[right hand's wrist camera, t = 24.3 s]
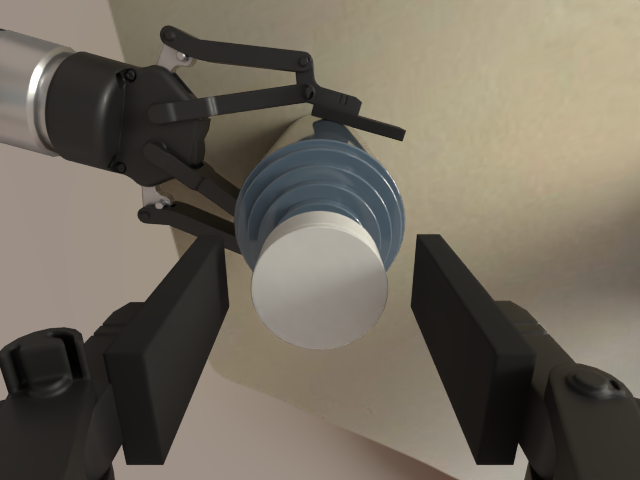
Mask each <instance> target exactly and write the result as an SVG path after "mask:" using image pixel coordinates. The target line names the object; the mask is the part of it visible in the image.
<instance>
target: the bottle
mask: <svg viewBox="0 0 640 480" xmlns="http://www.w3.org/2000/svg"><path fill="white" fill-rule="evenodd" d="M311 211H327V212H333V213H338V214H341V215H343V216H346V217H348V218H350V219H352V220H354V221H355V222H357V223H358V224H360V225H361V226H362V227H363V228H364V229H365V230H366V231H367V232H368V233H369V235H370V236H371V237H372V239H373V241H374V242H375V244H376V246H377V249H378V251H379V254H380V257H381V260H382V262H383V265H384V268H385V271H386V272H387V270H388V269H389V267H390V266H391V264H392V263H393V261H394V260H395V258H396V256H397V254H398V252H399V250H400V247H401V244H402V241H403V236H404V230H405V212H404V205H403V201H402V197H401V194H400V192H399V189H398V187H397V185H396V183H395V181H394V180H393V178H392V177H391V175H390V174H389V173H388V171H387V170H386V169H385V167H384V166H383V165H382V164H381V162H380V161H379V160H378V159H377V158H376V156H375V155H374V154H373V153H372V152H371V150H370V149H369V148H368V147H367V145H366V144H365V143H364V142H363V141H362V139H361V138H360V137H359V136H358V135H357V133H356V132H355V131H354V130H353V128H352V127H350V126H346V125H343V124H339V123H336V122H332V121H329V120H325V119H321V118H318V117H314V116H311V114H310V115H307V116H304V117H302V118H300V119H298V120H296V121H295V122H293V123H292V124H291V125H290V126H289V127H288V128H287V129H286V130H285V132H284V133H283V134H282V135H281V136H280V138H279V139H278V140H277V141H276V142H275V144H274V145H273V146H272V147H271V148H270V150H269V151H268V152H267V153H266V154H265V156H264V157H263V158H262V159H261V160H260V162H259V163H258V164H257V165H256V166H255V168H254V169H253V170H252V171H251V173H250V174H249V176H248V177H247V179H246V180H245V182H244V184H243V186H242V188H241V190H240V192H239V195H238V198H237V201H236V207H235V213H234V226H235V235H236V239H237V243H238V246H239V248H240V251H241V254H242V255H243V257H244V259H245V261H246V263H247V264H248V266H249V267H250V269H251V270H252V271H254V268H255V265H256V263H257V260H258V257H259V254H260V252H261V249H262V246H263V244H264V242H265V240H266V239H267V237H268V236H269V235H270V233H271V232H272V231H273V230H274V229H275V228H276V227H277V226H278V225H280V224H281V223H282V222H284V221H285V220H287V219H289V218H291V217H293V216H295V215H298V214H302V213H305V212H311Z"/></svg>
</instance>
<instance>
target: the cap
mask: <svg viewBox="0 0 640 480" xmlns="http://www.w3.org/2000/svg"><path fill="white" fill-rule="evenodd" d="M387 295H388V280H387V275H386V271H385V268H384V265H383V262H382V260H381V257H380V254H379V251H378V249H377V246H376V244H375V242H374V241H373V239H372V237H371V236H370V235H369V233H368V232H367V231H366V230H365V229H364V228H363V227H362V226H361V225H360V224H358V223H357V222H355V221H354V220H352V219H350V218H348V217H346V216H343V215H341V214H338V213H333V212H327V211H311V212H305V213H302V214H298V215H295V216H293V217H291V218H289V219H287V220H285V221H284V222H282V223H281V224H280V225H278V226H277V227H276V228H275V229H274V230H273V231H272V232H271V233H270V235H269V236H268V237H267V239H266V240H265V242H264V244H263V246H262V249H261V252H260V254H259V257H258V260H257V263H256V265H255V268H254V271H253V274H252V280H251V296H252V301H253V305H254V307H255V310H256V312H257V314H258V316H259V318H260V319H261V321H262V322H263V323H264V325H265V326H266V327H267V328H268V329H269V330H270V331H271V332H272V333H273V334H275V335H276V336H277V337H279V338H280V339H282V340H284V341H286V342H288V343H290V344H292V345H295V346H298V347H302V348H307V349H317V350H320V349H332V348H337V347H341V346H344V345H346V344H349V343H351V342H353V341H355V340H357V339H359V338H360V337H362V336H363V335H364V334H366V333H367V332H368V331H369V330H370V329H371V328H372V327H373V326H374V325H375V323H376V322H377V321H378V319H379V318H380V316H381V314H382V312H383V310H384V307H385V304H386V301H387Z"/></svg>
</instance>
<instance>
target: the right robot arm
mask: <svg viewBox="0 0 640 480" xmlns="http://www.w3.org/2000/svg"><path fill="white" fill-rule="evenodd" d="M228 308H229V298H228V286H227V275H226V263H225V252H224V240H223V234H200V235H199V237H198V238H197V239H196V240H195V241H194V243H193V244H192V245H191V246H190V248H189V249H188V250H187V251H186V252H185V254H184V255H183V256H182V257H181V258H180V260H179V261H178V262H177V263H176V265H175V266H174V267H173V268H172V269H171V271H170V272H169V273H168V274H167V276H166V277H165V278H164V279H163V280H162V282H161V283H160V284H159V285H158V286H157V288H156V289H155V290H154V291H153V293H152V294H151V295H150V296H149V297H148V299H147V300H146V301H145V302H130V303H128V304H126V305H125V306H123V307H121V308H120V309H118V310H116V311H114V312H113V313H112V314H111V315H110V316H109V317H108V318H107V320H106V321H105V322H104V323H103V326H100V327H99V328H98V329H97V330H96V331H95V332H94V336H91V337H90V338H89V339H88V340H87V341H86V342H85V343H84V342H83V338H82V334H81V333H80V332H78V331H77V330H76V329H71V328H65V327H63V328H49V329H45V330H41V331H37V332H33V333H30V334H28V335H25V336H23V337H20V338H18V339H16V340H14V341H13V342H11V343H10V344H8V345H6V346H5V347H4V348H3V349H2V350H1V351H0V368H1V371H2V374H3V378H4V381H5V384H6V387H7V390H8V393H9V394H8V396H7V398H6V400H2V401H0V480H115V478H114V471H113V466H112V461H113V459H114V457H115V456H116V454H117V452H118V450H119V448H120V447H121V445H122V446H123V451H124V455H125V460H126V464H127V465H163V464H164V462H165V460H166V457H167V455H168V452H169V450H170V448H171V445H172V443H173V440H174V438H175V436H176V433H177V431H178V428H179V426H180V424H181V421H182V419H183V416H184V414H185V411H186V409H187V407H188V404H189V402H190V399H191V397H192V395H193V392H194V390H195V388H196V385H197V383H198V380H199V378H200V375H201V373H202V371H203V368H204V366H205V364H206V361H207V359H208V356H209V354H210V352H211V349H212V347H213V344H214V342H215V340H216V337H217V335H218V332H219V330H220V328H221V325H222V323H223V320H224V318H225V316H226V313H227V311H228ZM411 308H412V311H413V313H414V316H415V318H416V320H417V323H418V325H419V328H420V330H421V332H422V335H423V337H424V340H425V342H426V344H427V347H428V349H429V352H430V354H431V356H432V359H433V361H434V364H435V366H436V368H437V371H438V373H439V376H440V378H441V380H442V383H443V385H444V388H445V390H446V392H447V395H448V397H449V400H450V402H451V404H452V407H453V409H454V412H455V414H456V416H457V419H458V421H459V424H460V426H461V428H462V431H463V433H464V436H465V438H466V440H467V443H468V445H469V448H470V450H471V452H472V455H473V457H474V460H475V462H476V464H477V465H513V464H514V460H515V455H516V451H517V446H518V443H519V445H520V446H521V448H522V450H523V452H524V453H525V455H526V457H527V459H528V461H529V462H528V466H527V470H526V475H525V479H524V480H640V399H638V398H634V397H633V395H632V393H631V392H630V391H629V390H628V388H627V387H626V386H625V385H624V384H623V383H622V382H621V381H619V380H618V379H616V378H615V377H613V376H612V375H610V374H608V373H606V372H604V371H602V370H599V369H597V368H594V367H591V366H587V365H583V364H577V363H575V362H574V361H573V360H572V358H571V357H570V356H569V355H568V354H567V353H566V352H565V351H564V350H563V349H562V348H561V347H560V346H559V345H558V343H557V342H556V341H555V340H554V339H553V338H552V337H551V336H550V335H549V334H547V332H546V331H545V330H544V328H543V327H542V326H541V325H540V324H538V322H537V321H536V320H535V319H534V318H533V317H532V316H531V315H530V313H529V312H528V311H527V310H525V309H523V308H521V307H520V306H518V305H516V304H515V303H513V302H511V301H494V300H493V299H492V297H491V296H490V295H489V294H488V293H487V291H486V290H485V289H484V288H483V286H482V285H481V284H480V283H479V282H478V280H477V279H476V278H475V277H474V276H473V274H472V273H471V272H470V271H469V269H468V268H467V267H466V266H465V265H464V263H463V262H462V261H461V260H460V258H459V257H458V256H457V255H456V254H455V252H454V251H453V250H452V249H451V248H450V246H449V245H448V244H447V243H446V241H445V240H444V239H443V238H442V237H441V235H440V234H417V240H416V252H415V263H414V275H413V286H412V298H411Z"/></svg>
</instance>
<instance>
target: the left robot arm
mask: <svg viewBox="0 0 640 480" xmlns="http://www.w3.org/2000/svg"><path fill="white" fill-rule="evenodd" d="M160 37H161V40H162V42H163V43H164V44H163V48H162V51H161V54H160V57H159V60H158V63H157V65H152V66H149V67H144V68H141V67H137V66H133V65H130V64H126V63H123V62H119V61H115V60H112V59H108V58H105V57H101V56H98V55H94V54H90V53H87V52H75V51H74V50H73V49H71V48H69V47H66V46H62V45H59V44H55V43H52V42H48V41H45V40H41V39H38V38H34V37H31V36H27V35H24V34H20V33H17V32H13V31H9V30H4V29H0V143H4V144H8V145H12V146H15V147H19V148H23V149H27V150H30V151H34V152H38V153H42V154H45V155H49V156H53V157H54V156H61V157H63V158H64V159H66V160H69V161H73V162H77V163H81V164H84V165H88V166H92V167H96V168H100V169H104V170H107V171H111V172H116V173H120V174H124V175H126V176H128V177H130V178H131V179H133V180H134V181H135V182H136V183H138V184H139V185H141V186H142V196H143V208H141V209H140V210H139V211H138V218H139V219H140V221H142V222H143V223H148V224H162V225H170V226H172V227H175V228H177V229H180V230H182V231H185V232H187V233H190V234H192V235H195V236H197V237H199V235H200V234H223V240H224V248H226V249H229V250H231V251H234V252H236V253H239V254H241V251H240V248H239V246H238V243H237V239H236V235H235V226H234V223H232V222H230V221H227V220H225V219H222V218H220V217H218V216H215V215H213V214H210V213H208V212H206V211H203V210H201V209H199V208H196V207H194V206H191V205H189V204H186V203H183V202H179V201H174V198H173V196H172V195H171V194H169V193H166V192H164V191H163V190H162V189H161V188H160V184H161V183H164V182H167V181H169V180H172V179H174V178H176V179H177V180H179V181H180V182H182V183H183V184H184V185H186V186H187V187H189V188H190V189H192V190H196V191H198V192H200V193H201V194H203V195H204V196H206V197H207V198H208V199H210V200H211V201H213V202H214V203H215V204H217V205H218V206H220V207H221V208H222V209H224V210H225V211H227V212H228V213H229V214H231V215H232V216H234V213H235V207H236V201H237V198H238V195H239V192H240V190H239V189H238V188H237V187H235V186H234V185H233V184H231V183H230V182H228V181H227V180H226V179H224V178H223V177H222V176H220V175H219V174H217V173H216V172H215V171H214V169H213V168H212V167H211V166H210V165H208V164H207V163H206V162H204V161H203V160H204V155H205V142H204V139H205V136H206V134H207V132H208V130H209V126H210V120H211V119H209V118H208V117H209V116H215V115H222V114H229V113H236V112H243V111H250V110H257V109H264V108H271V107H278V106H285V105H292V104H299V103H306V102H307V103H310V104H314V106H313V110H312V114H311V116H314V117H318V118H321V119H325V120H329V121H332V122H336V123H339V124H343V125H346V126H350V127H353V128H357V129H360V130H364V131H367V132H371V133H374V134H378V135H382V136H385V137H389V138H392V139H396V140H399V141H403V138H404V135H405V132H406V130H404V129H402V128H400V127H397V126H393V125H390V124H386V123H383V122H379V121H376V120H372V119H369V118H365V117H362V116H358V114H359V110H360V107H361V104H362V102H361V101H360V100H358V99H357V98H356V97H353V96H350V95H346V94H343V93H339V92H336V91H332V90H329V89H326V88H322V87H320V86H319V85H318V84H317V83H316V81H315V78H314V67H313V60H312V57H311V55H310V54H308V53H307V52H302V51H294V50H285V49H276V48H268V47H259V46H250V45H242V44H233V43H225V42H216V41H207V40H200V39H198V38H196V37H194V36H192V35H190V34H188V33H186V32H184V31H182V30H180V29H177V28H175V27H172V26H165V27H163V28H162V30H161V31H160ZM197 59H199V60H203V61H207V62H212V63H220V64H229V65H238V66H246V67H255V68H264V69H273V70H282V71H290V72H296V81H297V85H290V86H283V87H276V88H269V89H262V90H255V91H248V92H241V93H235V94H228V95H221V96H214V97H206V98H199V99H197V97H196V96H195V95H194V94H193V93H192V92H191V90H190V89H189V88H188V87H187V86H186V85H185V83H184V82H183V81H182V80H181V79H180V78H179V76H178V75H177V74H176V73H175V72H176V70H177V69H178V68H179V67H181V66H184V67H192V66H194V65H195V63H196V61H197ZM241 255H242V254H241Z"/></svg>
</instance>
